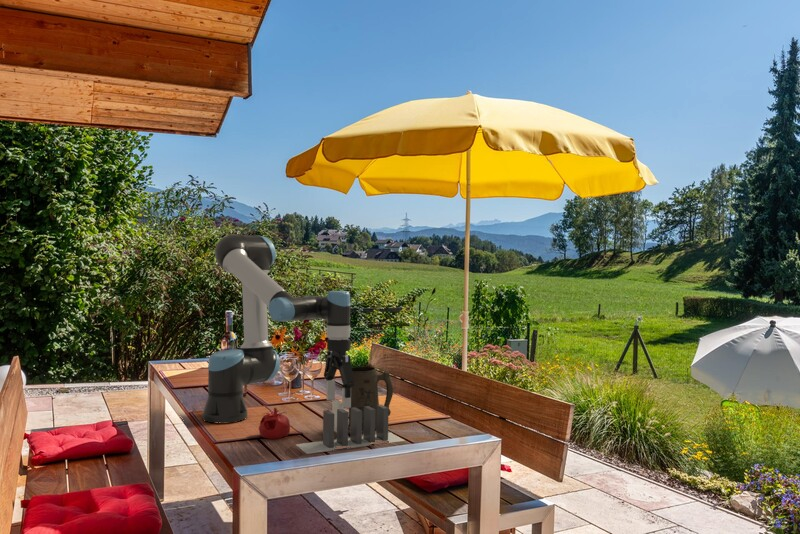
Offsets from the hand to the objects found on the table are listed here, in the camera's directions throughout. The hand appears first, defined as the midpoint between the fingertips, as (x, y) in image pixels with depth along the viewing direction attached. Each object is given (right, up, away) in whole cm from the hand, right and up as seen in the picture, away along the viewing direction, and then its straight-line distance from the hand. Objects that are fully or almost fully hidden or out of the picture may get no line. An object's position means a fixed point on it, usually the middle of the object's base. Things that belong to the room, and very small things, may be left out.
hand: (338, 403), depth 203 cm
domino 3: (+3, -9, -14) cm, 17 cm away
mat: (+5, -10, -12) cm, 17 cm away
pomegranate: (-20, -9, -6) cm, 23 cm away
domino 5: (+11, -9, -10) cm, 17 cm away
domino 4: (+7, -9, -12) cm, 16 cm away
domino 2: (0, -9, 0) cm, 9 cm away
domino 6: (+15, -9, -8) cm, 19 cm away
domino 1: (-1, -9, -16) cm, 18 cm away
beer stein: (+10, -10, +7) cm, 15 cm away
